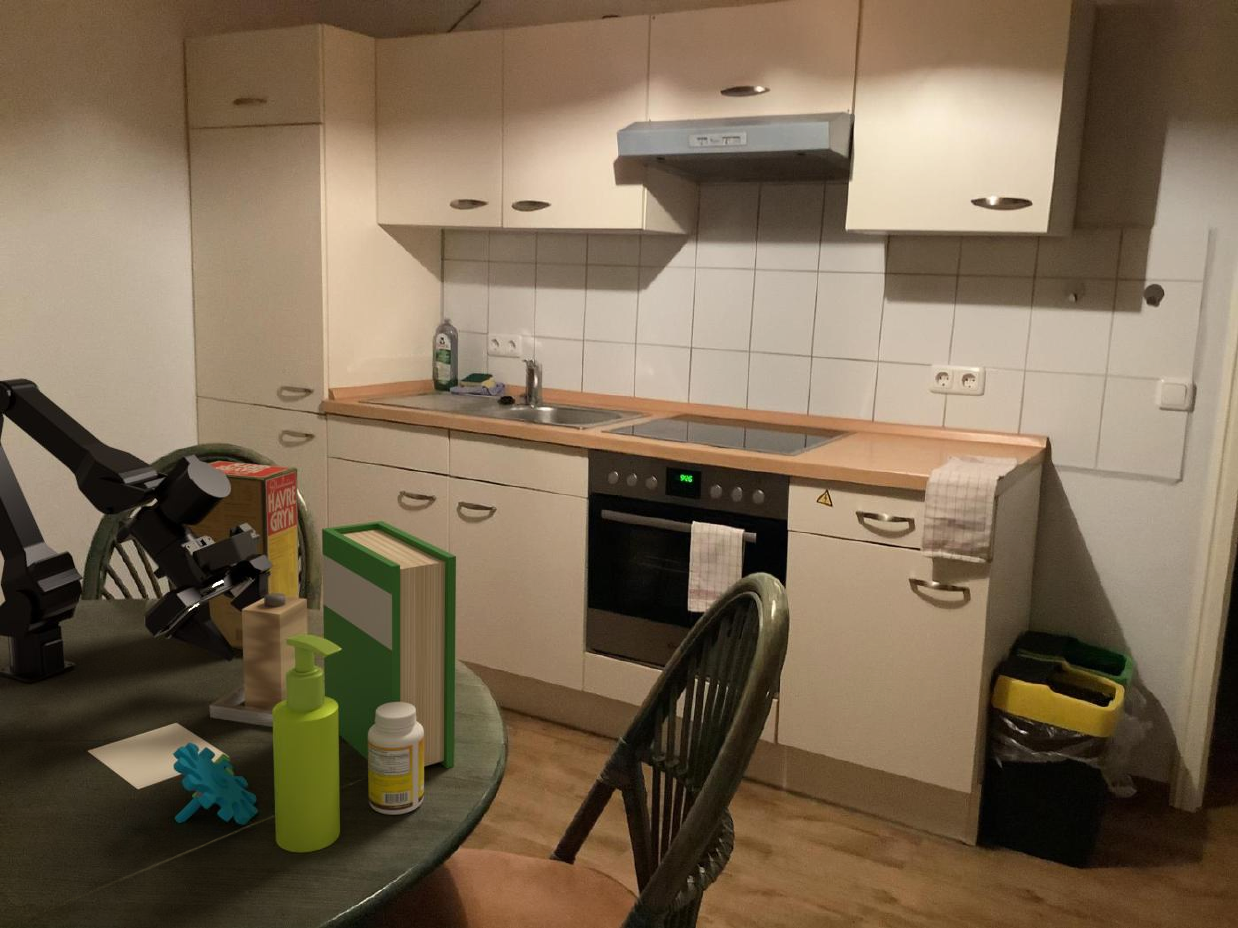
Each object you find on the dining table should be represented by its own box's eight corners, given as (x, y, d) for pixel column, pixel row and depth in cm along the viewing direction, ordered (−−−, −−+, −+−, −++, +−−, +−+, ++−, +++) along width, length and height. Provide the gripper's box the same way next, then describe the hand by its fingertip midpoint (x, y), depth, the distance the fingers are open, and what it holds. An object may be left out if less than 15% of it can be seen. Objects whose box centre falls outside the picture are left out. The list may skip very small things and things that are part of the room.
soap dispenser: (312, 863, 93) (308, 656, 90) (262, 839, 97) (256, 639, 93) (360, 834, 98) (358, 637, 95) (310, 813, 102) (307, 622, 98)
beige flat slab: (87, 753, 112) (87, 750, 112) (176, 725, 120) (176, 722, 120) (138, 791, 105) (137, 788, 104) (229, 759, 112) (229, 756, 112)
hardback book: (454, 766, 113) (456, 556, 108) (392, 784, 108) (391, 566, 104) (382, 709, 126) (381, 520, 122) (325, 724, 121) (322, 528, 117)
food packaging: (303, 631, 151) (300, 466, 147) (268, 653, 142) (263, 478, 138) (223, 621, 154) (217, 458, 150) (184, 642, 145) (176, 470, 141)
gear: (253, 828, 96) (172, 758, 94) (207, 875, 95) (124, 806, 93) (271, 786, 106) (198, 722, 105) (229, 828, 106) (155, 764, 104)
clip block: (245, 712, 123) (241, 601, 121) (273, 692, 129) (270, 586, 126) (282, 717, 122) (279, 606, 120) (308, 698, 128) (306, 591, 125)
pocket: (210, 719, 122) (209, 704, 121) (262, 684, 132) (262, 671, 132) (293, 731, 119) (293, 717, 119) (340, 695, 130) (339, 681, 129)
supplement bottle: (401, 783, 108) (401, 693, 106) (435, 802, 105) (435, 709, 103) (356, 803, 104) (355, 709, 102) (390, 823, 100) (390, 726, 99)
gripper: (163, 525, 114) (252, 632, 113) (259, 492, 132) (336, 584, 131) (105, 584, 117) (192, 688, 117) (206, 543, 135) (281, 634, 135)
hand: (255, 645), depth 125 cm, fingers open, 9 cm apart
